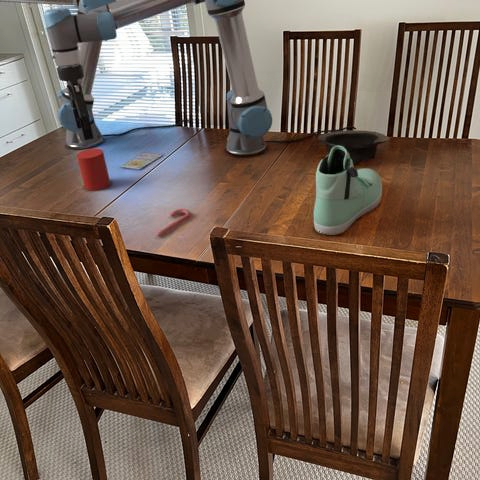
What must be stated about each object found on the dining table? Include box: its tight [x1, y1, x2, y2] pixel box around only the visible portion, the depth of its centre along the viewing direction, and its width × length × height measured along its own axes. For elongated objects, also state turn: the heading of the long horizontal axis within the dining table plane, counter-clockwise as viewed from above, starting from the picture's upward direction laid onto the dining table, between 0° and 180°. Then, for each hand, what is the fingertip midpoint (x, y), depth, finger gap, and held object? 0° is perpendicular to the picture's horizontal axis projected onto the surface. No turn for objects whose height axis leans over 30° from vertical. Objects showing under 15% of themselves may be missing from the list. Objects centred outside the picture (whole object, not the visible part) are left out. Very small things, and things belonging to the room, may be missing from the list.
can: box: [76, 148, 111, 192], centre depth 163 cm, size 9×9×12 cm
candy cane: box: [156, 208, 192, 238], centre depth 138 cm, size 6×15×2 cm, turn 145°
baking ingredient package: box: [119, 152, 162, 170], centre depth 182 cm, size 9×1×15 cm
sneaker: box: [313, 146, 383, 236], centre depth 133 cm, size 14×35×20 cm, turn 152°
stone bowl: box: [316, 129, 390, 165], centre depth 170 cm, size 25×25×9 cm
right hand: (85, 133), depth 156 cm, fingers open, 13 cm apart
